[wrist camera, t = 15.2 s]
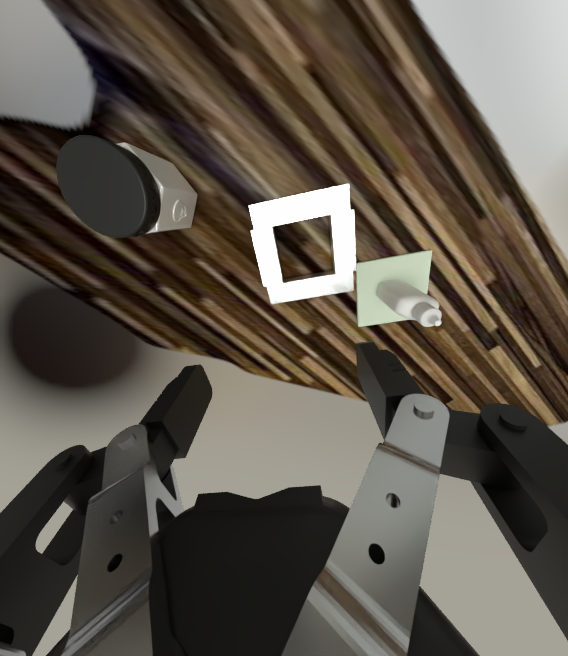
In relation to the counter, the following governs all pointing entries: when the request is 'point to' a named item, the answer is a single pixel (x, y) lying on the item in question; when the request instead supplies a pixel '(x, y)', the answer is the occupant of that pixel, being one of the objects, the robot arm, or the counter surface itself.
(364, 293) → the sage mat
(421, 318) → the eye dropper bottle
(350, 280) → the collar block
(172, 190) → the jar
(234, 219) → the counter surface
